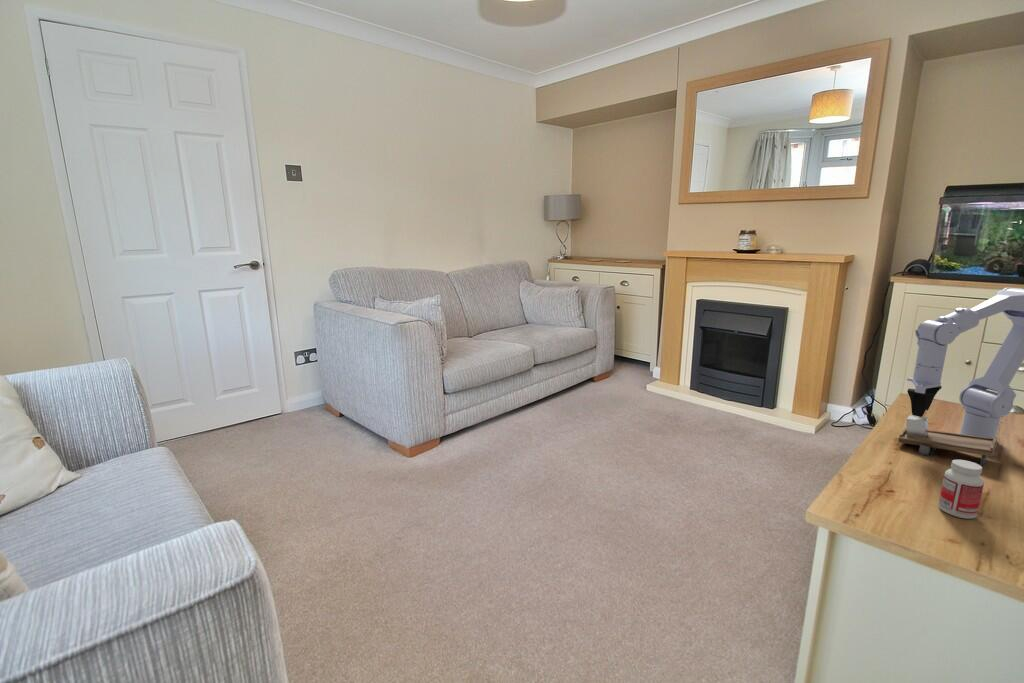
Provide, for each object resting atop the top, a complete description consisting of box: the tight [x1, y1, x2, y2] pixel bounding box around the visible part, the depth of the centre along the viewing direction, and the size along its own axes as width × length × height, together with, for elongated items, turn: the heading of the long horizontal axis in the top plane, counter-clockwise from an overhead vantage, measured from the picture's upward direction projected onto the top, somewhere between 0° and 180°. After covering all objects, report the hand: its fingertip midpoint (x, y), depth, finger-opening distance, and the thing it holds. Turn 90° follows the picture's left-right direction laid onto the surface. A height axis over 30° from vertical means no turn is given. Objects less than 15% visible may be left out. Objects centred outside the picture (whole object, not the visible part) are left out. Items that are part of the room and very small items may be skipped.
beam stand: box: [901, 443, 987, 467], centre depth 131 cm, size 14×17×3 cm
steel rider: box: [906, 415, 929, 439], centre depth 135 cm, size 4×4×5 cm
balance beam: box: [898, 426, 998, 457], centre depth 130 cm, size 11×18×2 cm, turn 41°
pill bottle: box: [938, 459, 985, 520], centre depth 102 cm, size 6×6×11 cm
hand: (920, 412), depth 134 cm, fingers open, 7 cm apart
